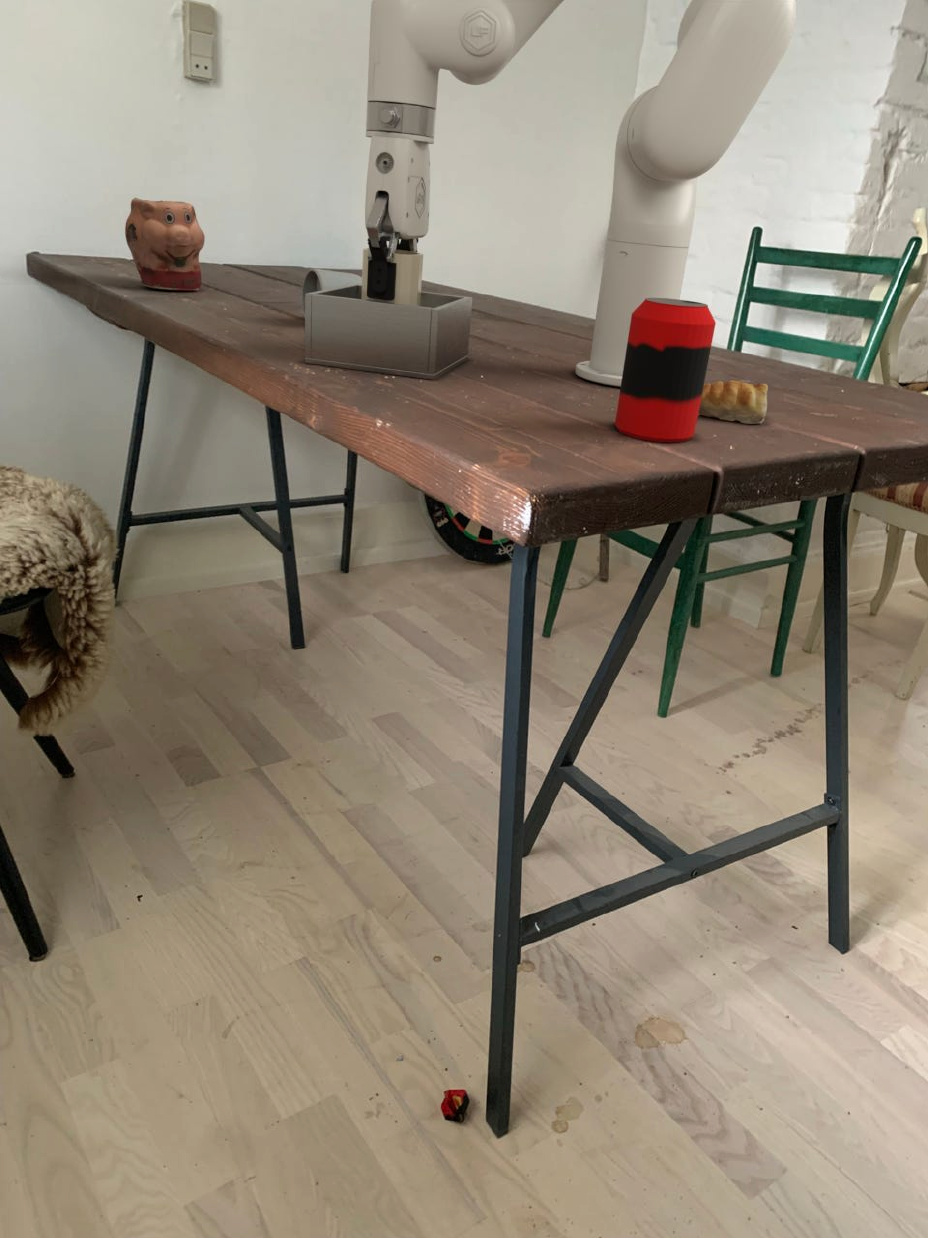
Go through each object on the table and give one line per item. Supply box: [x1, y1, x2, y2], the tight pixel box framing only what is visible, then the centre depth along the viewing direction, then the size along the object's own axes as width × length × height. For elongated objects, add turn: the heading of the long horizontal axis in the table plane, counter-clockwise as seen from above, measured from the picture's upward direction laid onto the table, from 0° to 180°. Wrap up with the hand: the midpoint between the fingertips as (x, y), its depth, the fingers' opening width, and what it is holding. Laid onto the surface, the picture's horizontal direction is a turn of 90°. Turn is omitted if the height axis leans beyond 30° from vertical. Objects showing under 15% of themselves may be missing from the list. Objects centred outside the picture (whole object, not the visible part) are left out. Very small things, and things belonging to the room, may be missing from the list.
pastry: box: [698, 379, 769, 425], centre depth 97 cm, size 9×7×4 cm
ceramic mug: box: [300, 268, 362, 318], centre depth 132 cm, size 11×8×8 cm
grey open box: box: [304, 284, 473, 381], centre depth 108 cm, size 16×16×8 cm
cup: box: [361, 247, 424, 306], centre depth 107 cm, size 7×7×9 cm
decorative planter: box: [124, 197, 206, 291], centre depth 153 cm, size 20×12×14 cm, turn 40°
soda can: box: [614, 298, 717, 444], centre depth 85 cm, size 8×8×12 cm
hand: (391, 294), depth 107 cm, fingers closed on cup, 7 cm apart
